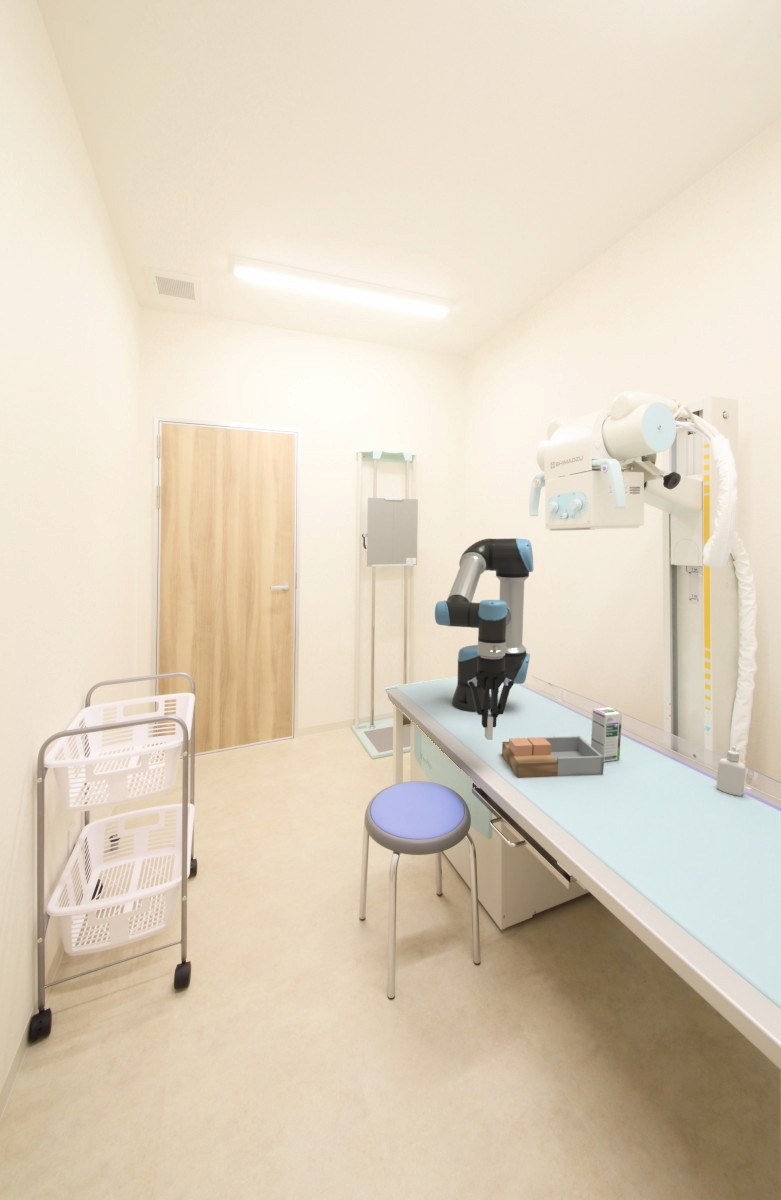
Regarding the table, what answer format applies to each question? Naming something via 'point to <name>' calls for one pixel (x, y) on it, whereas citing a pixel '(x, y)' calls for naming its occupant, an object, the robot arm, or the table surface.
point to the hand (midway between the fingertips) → (488, 737)
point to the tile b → (540, 746)
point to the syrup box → (606, 732)
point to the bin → (575, 756)
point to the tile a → (520, 746)
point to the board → (530, 764)
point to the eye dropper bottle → (731, 774)
